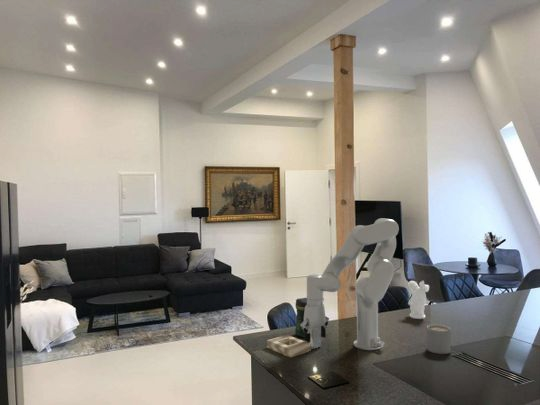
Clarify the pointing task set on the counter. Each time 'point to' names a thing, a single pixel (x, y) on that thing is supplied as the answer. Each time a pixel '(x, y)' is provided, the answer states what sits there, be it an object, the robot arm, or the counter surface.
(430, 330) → the coffee mug
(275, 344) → the block
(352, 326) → the counter surface
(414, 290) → the cherub figurine
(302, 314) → the coffee jar
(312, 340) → the bracket
